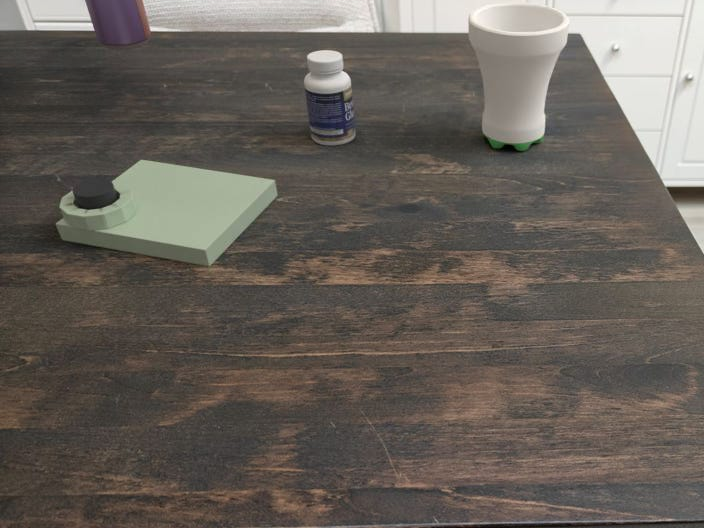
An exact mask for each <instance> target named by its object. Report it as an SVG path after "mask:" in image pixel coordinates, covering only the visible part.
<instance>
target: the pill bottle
mask: <svg viewBox="0 0 704 528" xmlns="http://www.w3.org/2000/svg"><path fill="white" fill-rule="evenodd" d="M306 62H307V69H308V71H309V72H308V73H307V74H306V75H305V77H304V79H303V85H304V87H303V88H304V92H305V99H306V100H305V101H306V107H307V115H308V124H309V130H310V137H311V139H312V140H313V142H315V143H317V144H319V145H321V146H327V147H333V146H334V147H335V146H342V145H345V144H346V145H347V144H348V143H350V142H352V141H353V140H354V139H355V137H356V122H355V110H354V99H353V89H352V88H353V87H352V80H351V77H350V76H349V74H348V73H347V72H346V71H343V70H344V59H343V54H342V53H341V52H339V51H336V50H329V49H323V50H316V51H312V52H310V53H308V54H307V56H306Z"/></svg>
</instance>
